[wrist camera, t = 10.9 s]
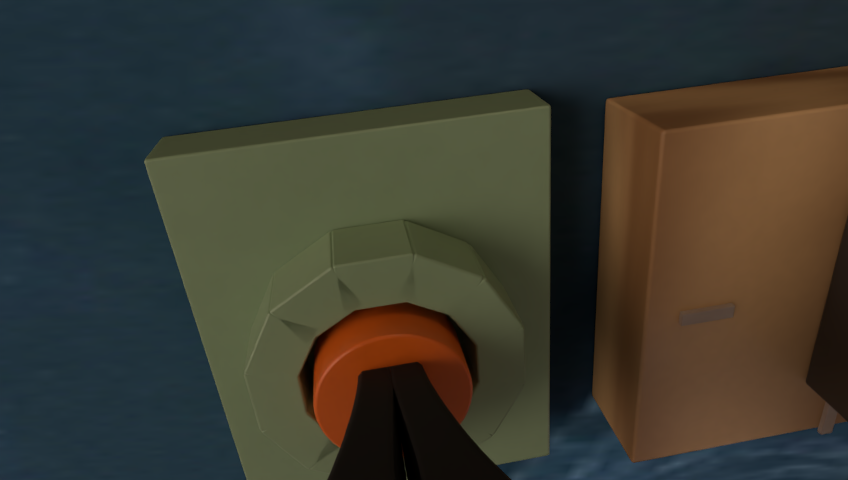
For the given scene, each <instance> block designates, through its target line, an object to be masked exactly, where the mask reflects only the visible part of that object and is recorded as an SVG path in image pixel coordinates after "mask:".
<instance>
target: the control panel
mask: <svg viewBox="0 0 848 480" xmlns="http://www.w3.org/2000/svg"><path fill="white" fill-rule="evenodd" d="M847 216H848V66H845V67H838V68H830V69H823V70H815V71H808V72H801V73H793V74H786V75H778V76H771V77H763V78H756V79H749V80H741V81H734V82H726V83H719V84H712V85H704V86H697V87H689V88H682V89H674V90H667V91H660V92H652V93H645V94H637V95H630V96H623V97H615V98H609V99H607V100H606V110H605V131H604V152H603V174H602V195H601V217H600V238H599V260H598V281H597V302H596V324H595V345H594V367H593V388H592V395H593V397H594V399H595V401H596V402H597V404H598V406H599V407H600V409H601V411H602V412H603V414H604V416H605V418H606V419H607V421H608V423H609V424H610V426H611V428H612V429H613V431H614V433H615V434H616V436H617V438H618V439H619V441H620V443H621V444H622V446H623V448H624V450H625V451H626V453H627V455H628V456H629V458H630V460H631V461H632V462H634V463H635V462H640V461H645V460H651V459H656V458H661V457H666V456H671V455H676V454H682V453H687V452H692V451H697V450H702V449H707V448H712V447H718V446H723V445H728V444H733V443H738V442H743V441H748V440H754V439H759V438H764V437H769V436H774V435H779V434H785V433H790V432H795V431H800V430H805V429H810V428H815V427H818V430H817V431H818V432H819V433H820V434H827V433H831V432H832V430H833V426H834V424H836V423H841V422H846V420H845V419H844V418H843V417H842V416H841V415H840V414H839V413H837V412H836V411H835V410H834V409H833V408H832V407H831V406H830V405H829V404H828V403H827V402H826V401H824V400H823V399H822V398H821V397H820V396H819V395H818V394H817V393H816V392H815V391H814V390H812V389H811V388H810V387H809V386H808V385H807V384H806V378H807V374H808V370H809V366H810V362H811V358H812V354H813V350H814V346H815V342H816V338H817V334H818V330H819V326H820V322H821V319H822V315H823V311H824V307H825V303H826V299H827V295H828V291H829V287H830V283H831V279H832V275H833V271H834V267H835V263H836V260H837V256H838V252H839V248H840V244H841V240H842V236H843V232H844V228H845V224H846V220H847Z"/></svg>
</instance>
